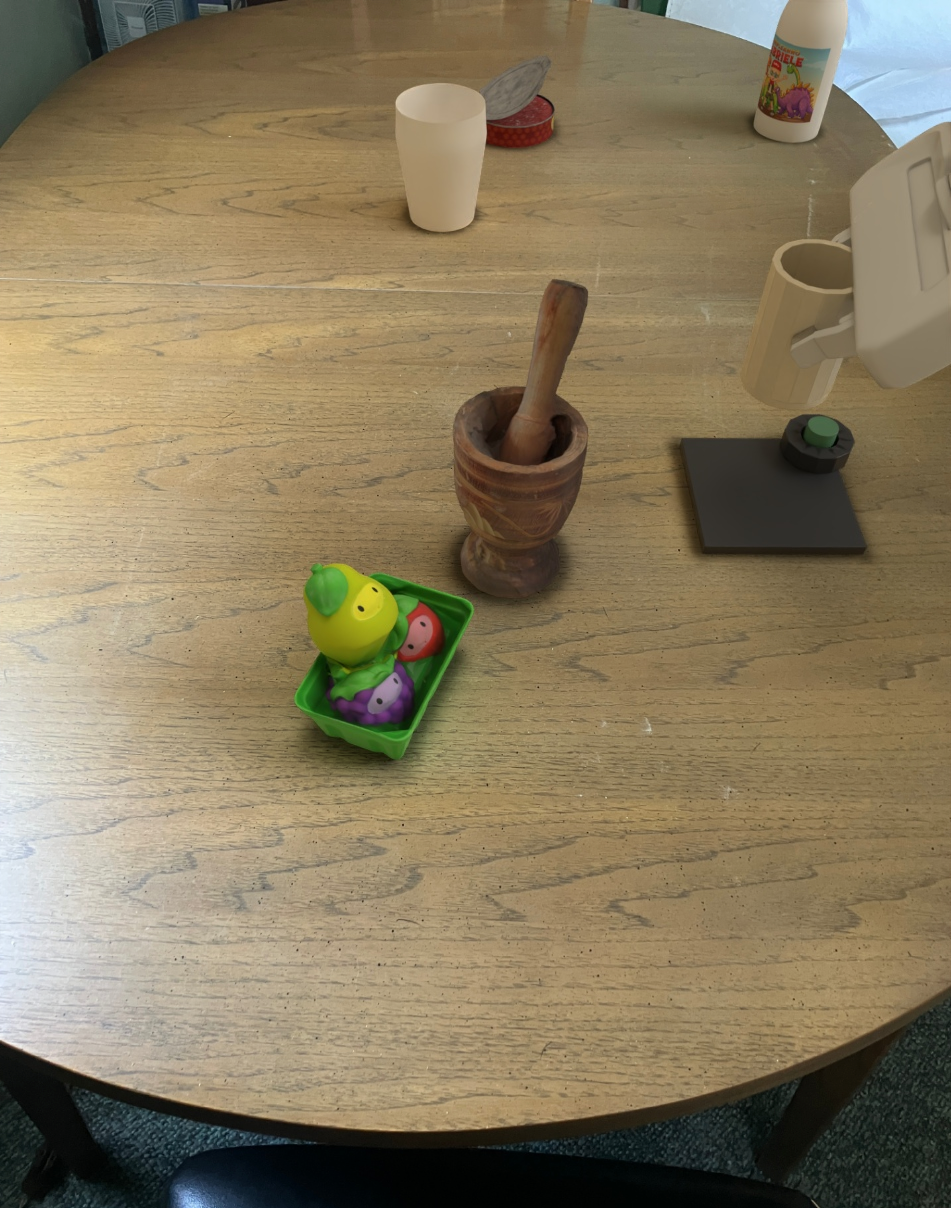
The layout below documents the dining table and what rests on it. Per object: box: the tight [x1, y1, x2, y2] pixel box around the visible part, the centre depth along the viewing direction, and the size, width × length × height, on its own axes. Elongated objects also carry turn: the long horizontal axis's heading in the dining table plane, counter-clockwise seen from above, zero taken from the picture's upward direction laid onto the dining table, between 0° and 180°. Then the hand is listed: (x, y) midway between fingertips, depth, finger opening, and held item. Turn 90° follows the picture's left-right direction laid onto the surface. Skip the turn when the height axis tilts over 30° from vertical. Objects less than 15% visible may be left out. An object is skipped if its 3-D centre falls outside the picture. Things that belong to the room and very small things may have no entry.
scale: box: [679, 413, 868, 555], centre depth 74 cm, size 13×13×3 cm
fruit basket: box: [293, 562, 475, 760], centre depth 58 cm, size 11×9×11 cm
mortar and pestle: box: [452, 278, 589, 599], centre depth 63 cm, size 12×9×20 cm
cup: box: [394, 82, 487, 233], centre depth 96 cm, size 9×9×12 cm
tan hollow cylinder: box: [739, 238, 854, 411], centre depth 63 cm, size 6×6×9 cm
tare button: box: [803, 416, 839, 448], centre depth 75 cm, size 2×2×1 cm
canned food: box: [478, 55, 556, 149], centre depth 111 cm, size 11×10×10 cm
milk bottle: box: [753, 0, 849, 144], centre depth 107 cm, size 8×8×20 cm
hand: (795, 320), depth 63 cm, fingers closed on tan hollow cylinder, 6 cm apart
